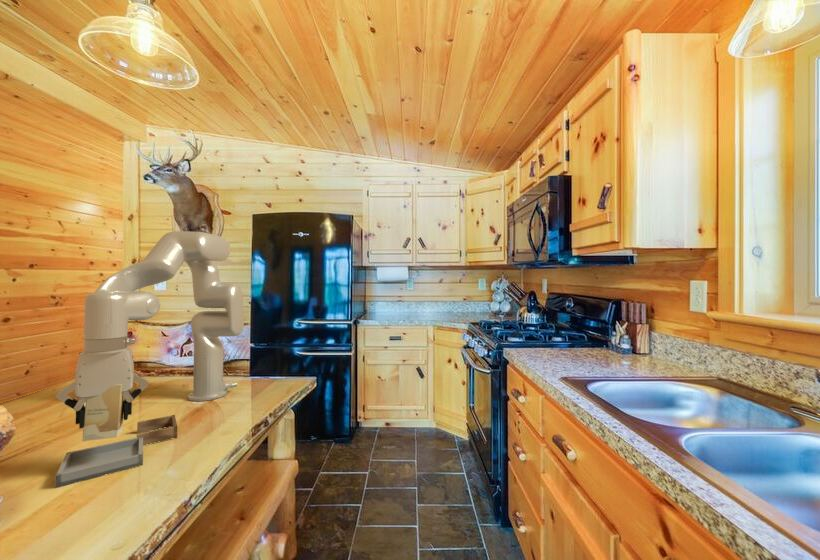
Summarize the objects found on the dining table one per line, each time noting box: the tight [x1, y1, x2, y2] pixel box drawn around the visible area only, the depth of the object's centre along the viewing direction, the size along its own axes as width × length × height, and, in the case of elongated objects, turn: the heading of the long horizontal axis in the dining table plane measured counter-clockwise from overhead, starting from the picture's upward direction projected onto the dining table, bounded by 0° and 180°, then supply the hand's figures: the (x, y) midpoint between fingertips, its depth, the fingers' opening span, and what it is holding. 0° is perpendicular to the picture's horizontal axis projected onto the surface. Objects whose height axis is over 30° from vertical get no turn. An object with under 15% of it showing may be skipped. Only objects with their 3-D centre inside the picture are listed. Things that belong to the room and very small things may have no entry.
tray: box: [55, 437, 144, 488], centre depth 78 cm, size 14×12×2 cm
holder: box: [136, 414, 178, 446], centre depth 93 cm, size 9×11×3 cm
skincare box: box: [82, 384, 125, 442], centre depth 78 cm, size 6×4×12 cm
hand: (104, 421), depth 78 cm, fingers closed on skincare box, 6 cm apart
